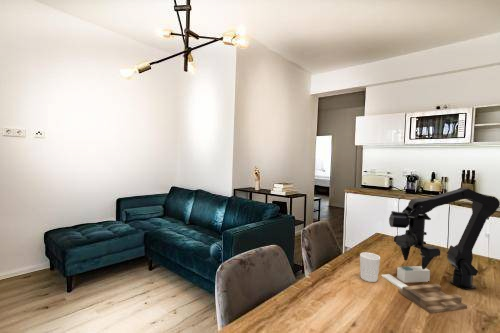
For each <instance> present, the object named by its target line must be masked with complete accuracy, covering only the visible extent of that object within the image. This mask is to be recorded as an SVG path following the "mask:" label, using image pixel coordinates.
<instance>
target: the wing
mask: <svg viewBox="0 0 500 333" xmlns="http://www.w3.org/2000/svg"><path fill="white" fill-rule="evenodd" d="M381 277H382V278H383V279H385V280H386V281H387V282H389V283H391V284H392V285H394V286H395V287H397V288H398V289H403V287H407V286H408V285H407V284H406V283H404V282H403V281H401V280H400V279H398V278H397V277H395V276H393V275H392V274H390V273H388V274H381Z"/></svg>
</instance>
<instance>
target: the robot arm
mask: <svg viewBox="0 0 500 333" xmlns="http://www.w3.org/2000/svg"><path fill="white" fill-rule="evenodd" d="M464 199H465V200H467V201H470V202H472V203H471V212H472V213H471V215H470V218H469V220H468V222H467V224H466V226H465V229H464V231H463V232H462V235H461V236H460V239H459V241H458V242H457V244H456V245H450V246H449V248H448V251H447V252H446V255H447V256H446V257H447V260H448V262H449V263H450V264H451V267H453V268H454V269H453V274H452V276H453V277H452V280H449V283H450V284H453V285H454V286H456V287H459V288H460V289H463V290H472V289H477V286H475V285H473V279H474V277H476V276H477V275H478V273H479V270H478V269H477V268H476V267H475V266H474V265H473V264H472V263H473V260H474V258H473V257H474V256H473V255H474V254H473V250H474V247H475V244H476V242H477V241H478V238H479V237H480V234H481V232H482V230H483V227H484V225H485V224H486V222H487V220H488V219H489V218H490V217H491V216H493V215H494V214H495V213H496V211H497V210H498V209H499V207H500V200H499V199H498V198H497V197H496V196H494V195H493V196H492V195H488V194H483V193H480V192H477V191H474V190H472V189H471V188H469V187H468V188H467V187H459V188H458V189H455V190H451V191H447V192H444V193H440V194H437V195H433V196H430V197H420V198H413V199H410V200H409V202H408V205H407V206H406V207H405V208H404V209H403V210H402V211H395V210H392V211H391V213H390V215H389V218H388V224H389V227H391V228H398V229H399V228H400V229H406V228H408V229H406V230H405V233H404V234H400V235H395V236H394V237H393V242H395V244H396V246H398V247H399V248H400V251H401V253H402V256H403V259H404V261H408V258H409V255H410V251H411V247H413V248H416V249H419V250H420V252H419V255H420V256H421V266H422V269H425V268H426V269H427V267H428V266H429V264H430V263H431V261H432V260H433V259H434V258H435V257H436V258H437V257H439V256H441V250H440V247H439V248H438V247H436V246H434V245H427V241H425V236H427V234H428V232H425V225H426V220H427V221H431V219H432V218H431V217H430V216H429V215H428V213H429V212H431V211H433V210H434V209H435V208H438V207H440V206H444V205H447V204H450V203H455V202H458V201H460V200H461V201H462V200H464Z"/></svg>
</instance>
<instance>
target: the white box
mask: <svg viewBox="0 0 500 333" xmlns="http://www.w3.org/2000/svg"><path fill="white" fill-rule="evenodd" d="M396 272H397V273H396V279H398V280H399V281H401V282H402V283H404V284H406V283H426V282H427V283H428V281H429V282H430V279H431V277H430V276H431V270H430V269H428V268H427V267H426V268H425V269H422V265H419V266H418V265H415V266H409V265H408V266H397V270H396Z"/></svg>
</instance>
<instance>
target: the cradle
mask: <svg viewBox="0 0 500 333" xmlns="http://www.w3.org/2000/svg"><path fill="white" fill-rule="evenodd" d="M397 292H398V293H399V294H401V295H402V296H404V298H407V299H408V300H410V301H411V302H413V303H414V304H416V305H417V306H418V307H419V308H422V309H423V310H424V311H426V312H428V313H429V314H432V313H433V314H434V313H439V312H440V313H441V312H446V311H447V312H448V311H457V310H458V311H459V310H465V309H467V308H468V304H466V303H464V302H462V299H463V298H462V296H461V295H459V294H458V293H455V294H447V293H446V292H443V291H442V286H441V285H440V284H438V283H429V284H415V285H414V284H413V285H410V286H409V285H407V287H403V289H400V288H398V291H397Z"/></svg>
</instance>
